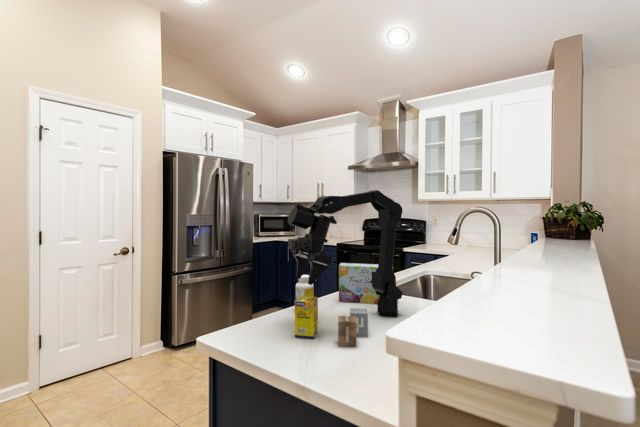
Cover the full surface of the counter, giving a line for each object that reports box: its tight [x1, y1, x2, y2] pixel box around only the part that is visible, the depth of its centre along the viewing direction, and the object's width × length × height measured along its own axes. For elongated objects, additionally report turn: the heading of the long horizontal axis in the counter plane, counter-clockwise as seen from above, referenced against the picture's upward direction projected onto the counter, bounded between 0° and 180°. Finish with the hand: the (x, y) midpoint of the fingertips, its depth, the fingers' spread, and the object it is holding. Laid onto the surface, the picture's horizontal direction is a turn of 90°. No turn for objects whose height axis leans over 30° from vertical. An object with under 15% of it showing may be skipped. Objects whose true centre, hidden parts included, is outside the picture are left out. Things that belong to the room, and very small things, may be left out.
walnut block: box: [337, 315, 357, 348], centre depth 98 cm, size 5×5×7 cm
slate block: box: [349, 307, 369, 338], centre depth 105 cm, size 5×5×7 cm
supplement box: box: [294, 296, 319, 340], centre depth 104 cm, size 6×6×11 cm
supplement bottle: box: [295, 274, 315, 301], centre depth 127 cm, size 7×7×13 cm
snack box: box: [338, 262, 394, 305], centre depth 138 cm, size 21×6×15 cm, turn 77°
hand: (303, 281), depth 109 cm, fingers open, 9 cm apart
